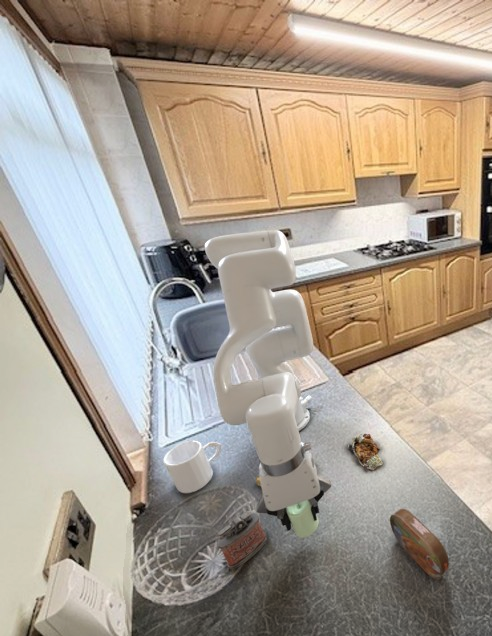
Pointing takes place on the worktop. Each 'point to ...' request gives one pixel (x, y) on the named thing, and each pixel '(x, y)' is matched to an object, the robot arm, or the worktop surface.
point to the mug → (190, 465)
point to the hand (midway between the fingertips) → (301, 518)
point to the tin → (420, 543)
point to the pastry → (366, 451)
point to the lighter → (241, 539)
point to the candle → (302, 519)
